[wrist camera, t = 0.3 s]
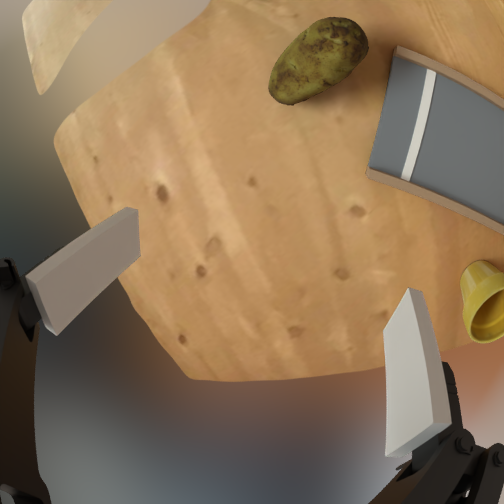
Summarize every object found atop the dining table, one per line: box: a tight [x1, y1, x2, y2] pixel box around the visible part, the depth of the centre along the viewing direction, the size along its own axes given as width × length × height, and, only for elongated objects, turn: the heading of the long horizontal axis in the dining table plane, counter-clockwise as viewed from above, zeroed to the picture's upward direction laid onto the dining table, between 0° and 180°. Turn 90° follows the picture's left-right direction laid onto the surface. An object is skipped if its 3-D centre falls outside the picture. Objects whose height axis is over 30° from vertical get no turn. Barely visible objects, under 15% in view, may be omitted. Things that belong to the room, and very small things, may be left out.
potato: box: [269, 17, 369, 105], centre depth 24 cm, size 8×13×8 cm, turn 114°
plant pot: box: [460, 260, 504, 343], centre depth 29 cm, size 10×10×10 cm
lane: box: [366, 46, 504, 235], centre depth 25 cm, size 17×26×4 cm
